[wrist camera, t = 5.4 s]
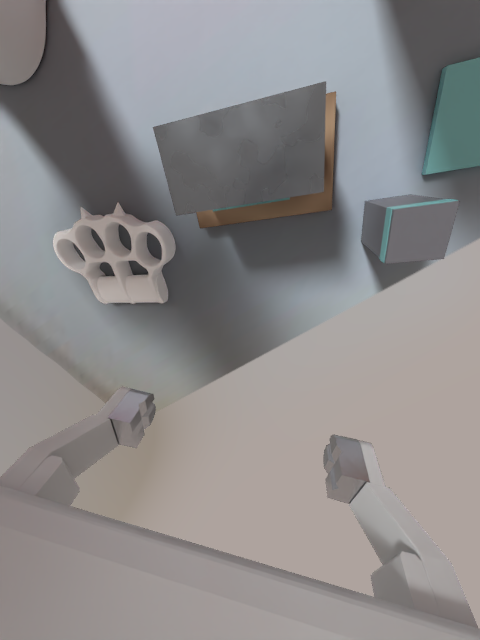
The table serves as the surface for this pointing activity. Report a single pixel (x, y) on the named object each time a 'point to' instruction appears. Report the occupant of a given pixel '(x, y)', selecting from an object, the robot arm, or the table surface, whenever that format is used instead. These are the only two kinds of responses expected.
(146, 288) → the white brass knuckles
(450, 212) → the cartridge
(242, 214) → the board
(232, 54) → the table surface
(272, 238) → the table surface
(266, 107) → the panel
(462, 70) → the pad
